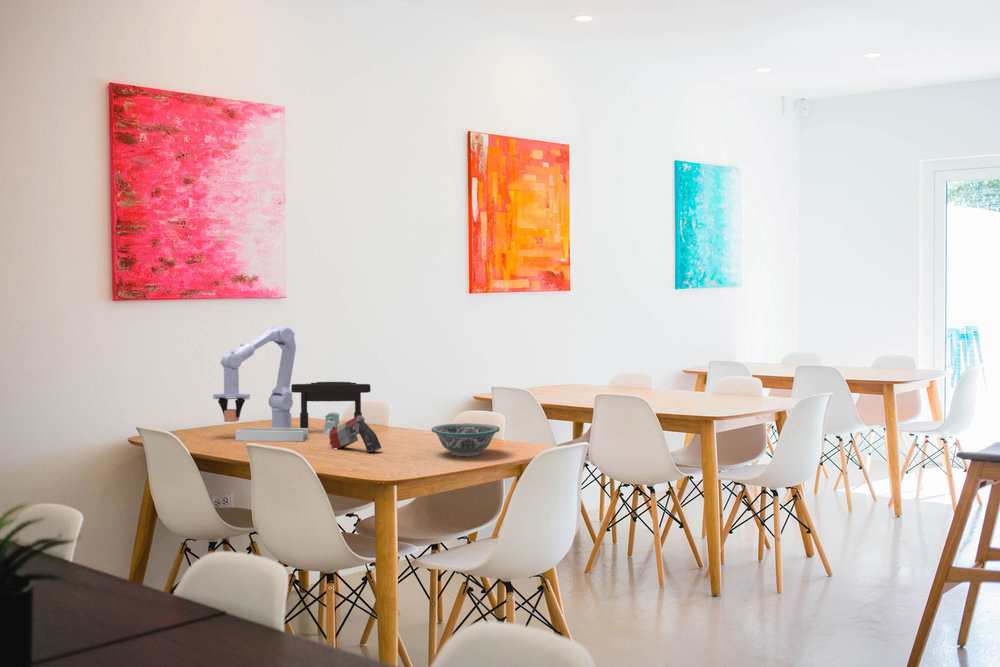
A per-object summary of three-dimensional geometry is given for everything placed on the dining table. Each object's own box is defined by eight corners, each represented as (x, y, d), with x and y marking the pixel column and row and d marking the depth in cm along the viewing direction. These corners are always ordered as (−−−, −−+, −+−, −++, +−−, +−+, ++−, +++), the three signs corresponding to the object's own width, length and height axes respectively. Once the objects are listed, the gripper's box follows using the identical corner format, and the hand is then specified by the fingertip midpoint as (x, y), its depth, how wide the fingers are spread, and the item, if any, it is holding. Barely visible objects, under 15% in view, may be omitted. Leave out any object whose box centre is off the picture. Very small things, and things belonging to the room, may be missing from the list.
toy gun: (344, 466, 368) (332, 429, 371) (383, 447, 357) (370, 409, 360) (335, 468, 364) (322, 431, 367) (374, 449, 352) (360, 410, 355)
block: (239, 420, 391) (228, 420, 391) (238, 409, 391) (228, 409, 391) (235, 421, 387) (224, 421, 387) (235, 410, 386) (224, 410, 387)
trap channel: (242, 437, 391) (242, 427, 390) (308, 438, 389) (308, 428, 388) (235, 440, 382) (235, 430, 382) (302, 441, 380) (302, 431, 380)
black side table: (368, 384, 395) (287, 384, 395) (368, 435, 397) (288, 435, 396) (372, 380, 411) (295, 380, 411) (372, 429, 412) (295, 429, 412)
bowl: (429, 460, 340) (429, 433, 340) (433, 448, 365) (433, 423, 365) (500, 460, 341) (500, 433, 340) (499, 448, 366) (499, 423, 365)
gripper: (210, 384, 385) (210, 418, 386) (245, 384, 384) (246, 418, 385) (216, 382, 392) (217, 415, 393) (251, 382, 391) (251, 416, 392)
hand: (231, 417), depth 389 cm, fingers closed on block, 4 cm apart
